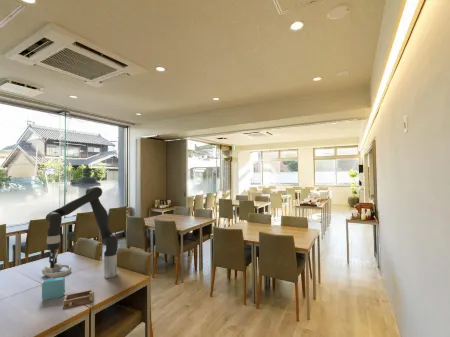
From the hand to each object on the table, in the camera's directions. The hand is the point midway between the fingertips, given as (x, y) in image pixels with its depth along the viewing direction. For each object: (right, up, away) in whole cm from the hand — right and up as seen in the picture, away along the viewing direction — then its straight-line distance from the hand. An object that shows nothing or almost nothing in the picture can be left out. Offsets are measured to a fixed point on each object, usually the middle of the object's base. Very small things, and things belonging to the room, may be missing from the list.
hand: (53, 265), depth 161 cm
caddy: (+20, -21, -5) cm, 30 cm away
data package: (0, -22, 0) cm, 22 cm away
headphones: (-24, -23, +37) cm, 49 cm away
